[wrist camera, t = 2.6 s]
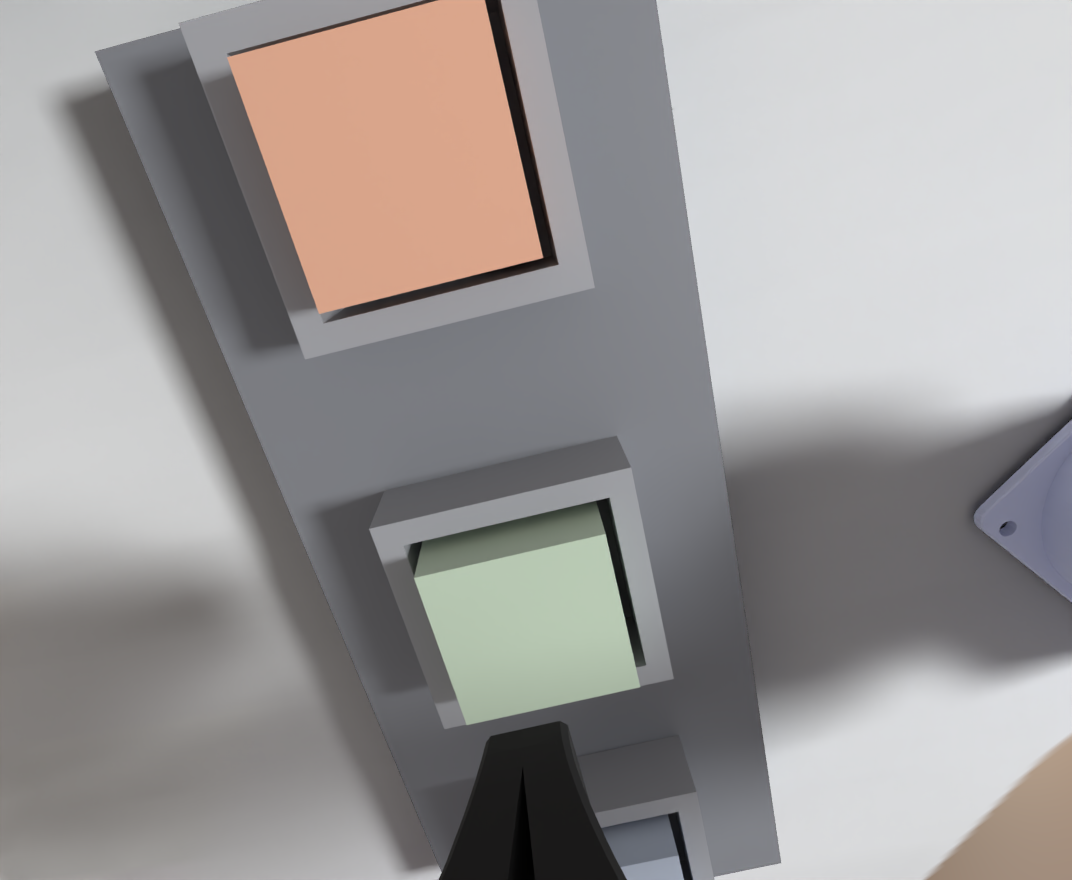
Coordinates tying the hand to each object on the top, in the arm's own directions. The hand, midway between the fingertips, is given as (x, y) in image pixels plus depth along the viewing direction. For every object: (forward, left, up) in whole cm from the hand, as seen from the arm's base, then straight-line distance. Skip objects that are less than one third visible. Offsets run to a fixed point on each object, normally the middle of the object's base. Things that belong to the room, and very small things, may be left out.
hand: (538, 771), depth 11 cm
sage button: (0, 0, -6) cm, 6 cm away
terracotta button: (+8, -6, -6) cm, 12 cm away
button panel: (0, 0, -9) cm, 9 cm away
